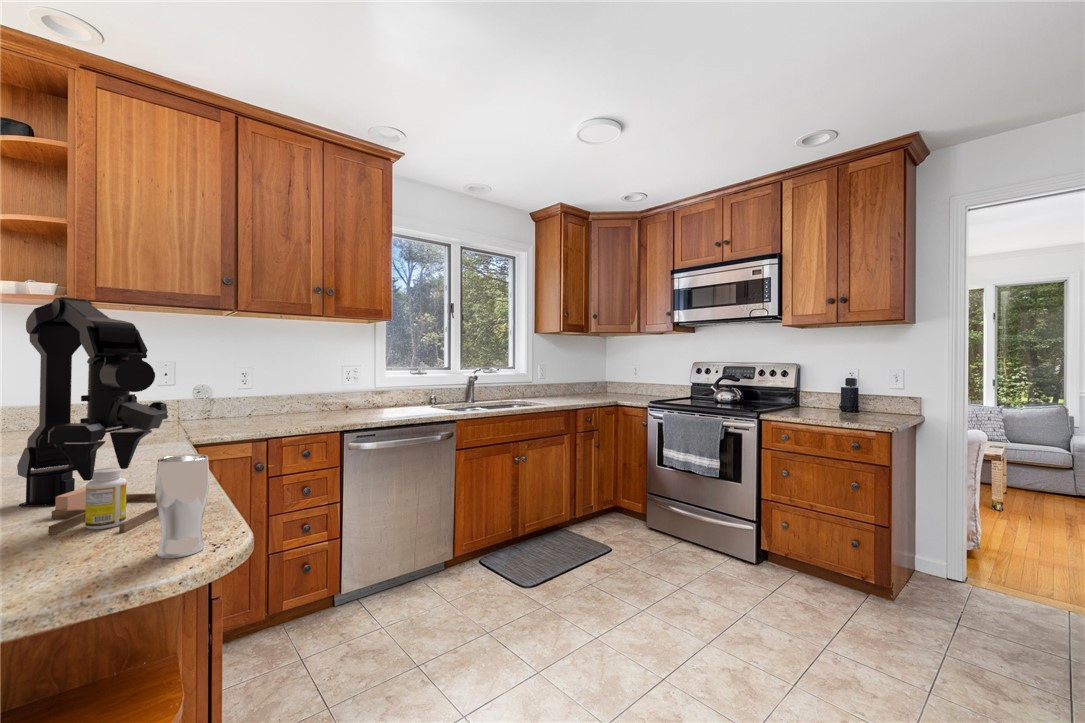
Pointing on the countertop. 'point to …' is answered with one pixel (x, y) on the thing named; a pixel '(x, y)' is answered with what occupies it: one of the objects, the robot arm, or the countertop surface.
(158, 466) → the beer glass
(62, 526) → the walnut track
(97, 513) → the supplement bottle
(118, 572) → the countertop surface
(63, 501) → the stop block
